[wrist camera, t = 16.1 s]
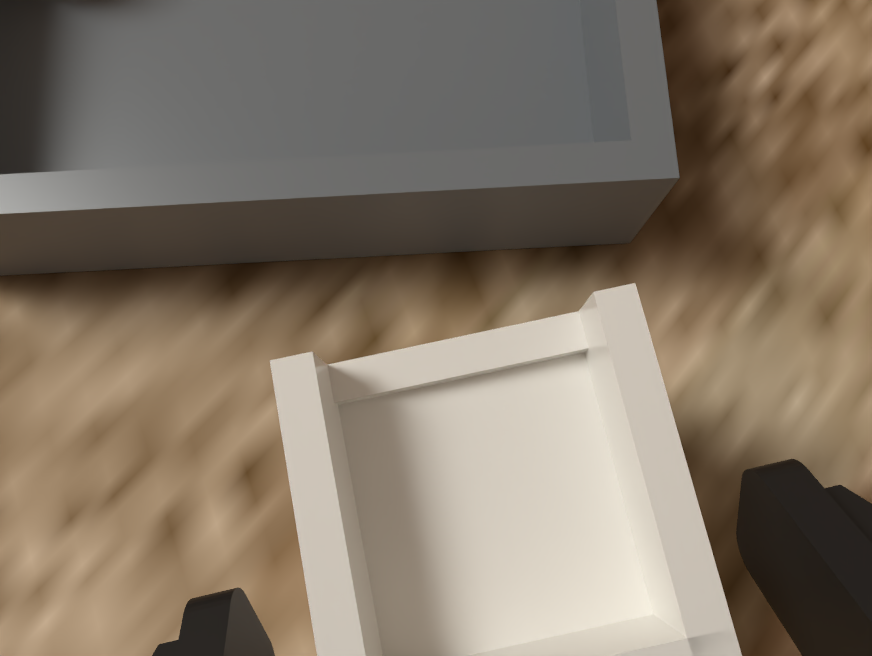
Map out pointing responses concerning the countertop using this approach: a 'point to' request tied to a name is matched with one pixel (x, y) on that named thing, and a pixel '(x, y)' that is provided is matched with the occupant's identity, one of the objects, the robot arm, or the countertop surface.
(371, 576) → the open white crate
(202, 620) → the robot arm
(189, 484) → the countertop surface
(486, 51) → the tray
